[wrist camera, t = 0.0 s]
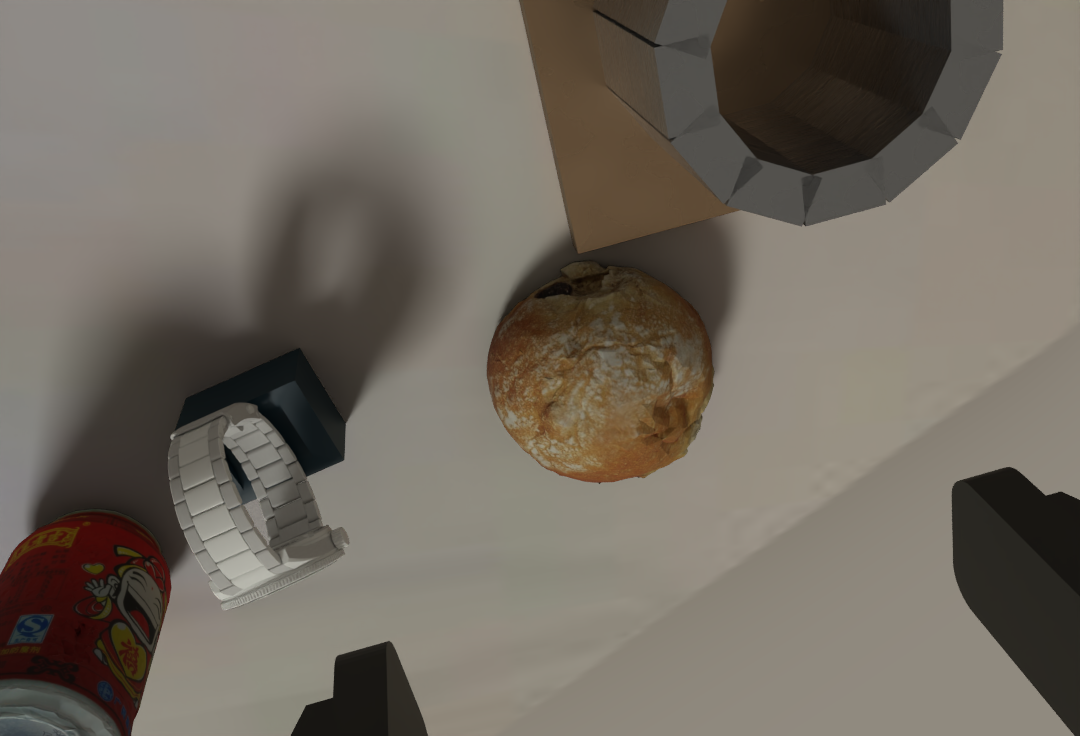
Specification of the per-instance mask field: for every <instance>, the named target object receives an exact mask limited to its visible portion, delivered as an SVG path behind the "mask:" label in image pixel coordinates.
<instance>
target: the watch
mask: <svg viewBox="0 0 1080 736" xmlns="http://www.w3.org/2000/svg"><path fill="white" fill-rule="evenodd" d="M345 428H346V424H345V422H344V421H343V419H342V417H341V416H340V414H339V412H338V411H337V409H336V407H335V406H334V404H333V402H332V401H331V399H330V397H329V396H328V394H327V392H326V391H325V389H324V388H323V386H322V384H321V383H320V381H319V379H318V378H317V376H316V374H315V373H314V371H313V369H312V368H311V366H310V364H309V363H308V361H307V359H306V358H305V356H304V354H303V353H302V351H301V350H300V348H298V349H296V350H294V351H291V352H289V353H287V354H285V355H282V356H280V357H278V358H276V359H273V360H271V361H269V362H267V363H264V364H262V365H260V366H258V367H255V368H253V369H251V370H249V371H246V372H244V373H242V374H240V375H238V376H235V377H233V378H231V379H229V380H226V381H224V382H222V383H220V384H217V385H215V386H213V387H211V388H208V389H206V390H204V391H202V392H199V393H197V394H195V395H193V396H191V397H188V398H186V400H185V403H184V406H183V409H182V411H181V414H180V417H179V420H178V423H177V426H176V429H175V432H173V433H172V434H171V436H170V438H171V440H172V442H171V446H170V448H169V453H168V459H169V460H168V473H169V479H170V480H171V481H170V488H171V493H172V498H173V502H174V504H175V510H176V514H177V517H178V520H179V523H180V526H181V528H182V529H183V530H184V529H186V528H188V527H191V526H193V525H195V526H193V527H191V528H188V529H186V530H184V534H185V537H186V539H187V541H188V544H189V546H190V548H191V550H192V552H193V553H196V554H195V556H196V558H197V560H198V562H199V563H200V565H201V566H202V568H203V569H204V571H205V572H206V573H207V574H208V575H209V577H210V579H211V581H209V582H208V583H209V585H210V588H211V590H212V592H213V593H214V594H215V596H216V597H218V598H219V599H220V600H222V603H221V607H222V609H223V610H229V609H233V608H236V607H239V606H242V605H245V604H248V603H251V602H254V601H256V600H259V599H261V598H263V597H266V596H269V595H270V594H273V593H275V592H277V591H279V590H282V589H284V588H286V587H288V586H290V585H292V584H295V583H297V582H299V581H301V580H303V579H305V578H307V577H309V576H311V575H313V574H315V573H317V572H319V571H320V570H322V569H324V568H326V567H327V566H329V565H331V564H332V563H334V562H335V561H337V560H338V559H340V558H341V557H342V556H343V555H344V554H345V552H344V550H343V548H344V547H347V546H349V538H348V536H347V533H346V531H345V530H344V529H343V528H342V527H340V528H337V529H335V530H331V528H330V527H329V525H326V526H323V524H322V521H321V515H320V512H319V509H318V506H317V503H316V501H313V500H315V496H314V494H313V491H312V489H311V487H310V484H309V482H308V481H305V480H307V476H309V475H312V474H314V473H316V472H318V471H321V470H323V469H325V468H327V467H330V466H332V465H334V464H337V463H339V462H341V461H343V460H344V454H345ZM302 481H304V482H302ZM300 482H302V483H300ZM298 483H300V484H298ZM266 497H268V498H266ZM264 498H266V499H264ZM299 498H300V499H299ZM255 499H258V500H261V499H263V500H261V501H260V502H259V503H260V507H261V510H262V513H263V517H264V519H265V520H267V521H266V528H267V533H268V538H269V540H270V541H269V545H268V546H267V542H266V540H265V539H264V537H263V536H262V535H261V533H260V532H259V531H258V529H257V528H256V527H254V522H253V521H252V519H251V517H250V515H249V514H248V512H247V510H246V508H245V507H244V506H243V504H246V503H248V502H250V501H253V500H255ZM297 499H298V500H297ZM294 500H296V501H294ZM292 501H294V502H292ZM311 501H312V502H311ZM290 502H291V503H290ZM222 503H223V504H222ZM288 503H289V504H288ZM306 503H307V504H306ZM220 504H222V505H220ZM285 504H287V505H285ZM218 505H220V506H218ZM283 505H284V506H283ZM216 506H218V507H216ZM281 506H282V507H281ZM213 507H215V508H213ZM279 507H280V508H279ZM211 508H213V509H211ZM276 508H278V509H276ZM209 509H211V510H209ZM206 510H209V511H206ZM204 511H206V512H204ZM202 512H204V513H202ZM200 513H202V514H200ZM197 514H200V515H197ZM195 515H197V516H195ZM272 518H273V519H272ZM270 519H271V520H270ZM236 526H237V527H236ZM234 527H235V528H234ZM229 529H230V530H229ZM227 530H228V531H227ZM225 531H226V532H225ZM220 533H221V534H220ZM218 534H219V535H218ZM216 535H217V536H216ZM211 537H212V538H211ZM209 538H210V539H209Z"/></svg>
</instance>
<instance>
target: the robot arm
mask: <svg viewBox="0 0 1080 736" xmlns="http://www.w3.org/2000/svg"><path fill="white" fill-rule="evenodd" d="M952 530H953V566H954V572H955V576H956V580H957V583H958V586H959V588H960V591H961V593H962V596H963V598H964V599H965V601H966V603H967V604H968V606H969V607H970V609H971V610H972V612H973V613H974V614H975V615H976V616H977V618H978V619H979V620H980V621H981V623H982V624H983V625H984V626H985V627H986V629H987V630H988V631H989V632H990V633H991V635H992V636H993V637H994V638H995V639H996V641H997V642H998V643H999V644H1000V646H1001V647H1002V648H1003V649H1004V650H1005V652H1006V653H1007V654H1008V655H1009V657H1010V658H1011V659H1012V660H1013V661H1014V663H1015V664H1016V665H1017V666H1018V667H1019V669H1020V670H1021V671H1022V672H1023V673H1024V675H1025V676H1026V677H1027V678H1028V680H1030V682H1031V683H1032V684H1033V686H1034V687H1035V688H1036V689H1037V690H1038V692H1039V693H1040V694H1041V695H1042V697H1043V698H1044V699H1045V700H1046V701H1047V703H1048V704H1049V705H1050V706H1051V707H1052V709H1053V710H1054V711H1055V712H1056V714H1057V715H1058V716H1059V717H1060V718H1061V720H1062V721H1063V722H1064V723H1065V724H1066V726H1067V727H1068V728H1069V729H1070V730H1071V732H1072V733H1073V734H1074V735H1075V736H1080V500H1079V499H1077V498H1074V497H1072V496H1070V495H1068V494H1065V493H1063V492H1058V493H1054V494H1051V495H1047V496H1045V495H1044V494H1043V493H1042V492H1041V491H1040V490H1039V489H1038V488H1037V487H1036V486H1034V485H1033V484H1032V483H1031V482H1030V481H1029V480H1028V479H1027V478H1026V477H1025V476H1023V475H1022V474H1021V473H1020V472H1019V471H1017V470H1016V469H1014V468H1011V467H1006V468H1002V469H999V470H995V471H992V472H988V473H985V474H981V475H978V476H974V477H970V478H967V479H963V480H960V481H957V482H956V483H955V484H954V486H953V489H952ZM291 736H428V734H427V731H426V727H425V723H424V720H423V717H422V715H421V712H420V710H419V707H418V705H417V702H416V700H415V697H414V695H413V692H412V690H411V687H410V685H409V682H408V680H407V677H406V675H405V672H404V670H403V667H402V665H401V662H400V660H399V657H398V655H397V652H396V650H395V648H394V646H393V644H392V643H391V642H390V641H387V642H384V643H380V644H377V645H373V646H370V647H366V648H363V649H359V650H356V651H352V652H349V653H345V654H342V655H338V656H337V657H336V660H335V667H334V690H333V698H331V699H327V700H324V701H320V702H317V703H313V704H310V705H306V707H305V709H304V711H303V713H302V715H301V717H300V718H299V720H298V722H297V724H296V726H295V728H294V730H293V732H292V734H291Z"/></svg>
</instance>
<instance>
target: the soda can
mask: <svg viewBox="0 0 1080 736" xmlns="http://www.w3.org/2000/svg"><path fill="white" fill-rule="evenodd" d="M170 592H171V580H170V572H169V569H168V566H167V564H166V561H165V559H164V557H163V556H162V551H161V548H160V545H159V544H158V542H157V540H156V538H155V537H154V536H153V534H152V533H151V532H150V531H149V530H148V529H147V528H146V527H145V526H143V525H142V524H140V523H139V522H137V521H136V520H134V519H132V518H131V517H129V516H126V515H123V514H121V513H118V512H115V511H109V510H100V509H90V510H81V511H74V512H71V513H69V514H66V515H63V516H61V517H59V518H58V519H56V520H55V521H53V522H52V523H50V524H48V525H45V526H43V527H40V528H38V529H37V530H36V531H35V532H33V533H32V534H31V535H29V536H28V537H27V538H26V539H24V540H23V541H22V542H21V543H19V545H18V546H17V547H16V548H15V550H14V551H13V552H12V553H11V555H10V557H9V559H8V561H7V563H6V565H5V567H4V569H3V571H2V572H1V574H0V736H131V732H132V726H133V721H134V719H135V717H136V715H137V713H138V710H139V708H140V704H141V700H142V696H143V692H144V689H145V685H146V681H147V678H148V674H149V671H150V667H151V664H152V660H153V656H154V653H155V649H156V646H157V642H158V639H159V635H160V631H161V628H162V624H163V621H164V617H165V613H166V610H167V606H168V603H169V598H170Z"/></svg>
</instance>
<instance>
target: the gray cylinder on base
mask: <svg viewBox="0 0 1080 736" xmlns="http://www.w3.org/2000/svg"><path fill="white" fill-rule="evenodd" d="M519 2H520V6H521V11H522V15H523V20H524V24H525V29H526V34H527V38H528V43H529V47H530V52H531V56H532V61H533V65H534V70H535V74H536V79H537V83H538V88H539V93H540V97H541V102H542V106H543V111H544V115H545V120H546V124H547V129H548V133H549V138H550V143H551V147H552V152H553V156H554V161H555V165H556V170H557V174H558V179H559V183H560V188H561V192H562V197H563V202H564V206H565V211H566V215H567V220H568V224H569V229H570V233H571V238H572V242H573V246H574V247H575V249H576V251H577V253H578V254H580V253H584V252H587V251H591V250H595V249H599V248H602V247H606V246H610V245H613V244H617V243H621V242H624V241H628V240H632V239H635V238H639V237H643V236H646V235H650V234H654V233H657V232H661V231H665V230H669V229H672V228H676V227H680V226H683V225H687V224H691V223H694V222H698V221H702V220H705V219H709V218H713V217H716V216H720V215H724V214H727V213H731V212H735V211H739V210H743V211H747V212H751V213H754V214H758V215H762V216H765V217H769V218H773V219H776V220H780V221H784V222H787V223H791V224H795V225H799V226H802V225H803V224H804V225H805V226H809V225H813V224H816V223H820V222H824V221H827V220H831V219H835V218H838V217H842V216H846V215H849V214H853V213H857V212H860V211H864V210H868V209H871V208H875V207H879V206H882V205H886V200H887V201H888V202H891V201H892V200H893V199H894V198H895V197H896V196H898V195H899V194H900V193H901V192H902V191H903V190H905V189H906V188H907V187H908V186H909V185H910V184H911V183H913V182H914V181H915V180H916V179H917V178H918V177H920V176H921V175H922V174H923V173H924V172H925V171H926V170H928V169H929V168H930V167H931V166H932V165H933V164H935V163H936V162H937V161H938V160H939V159H940V158H941V157H943V156H944V155H945V154H946V153H947V152H948V151H950V150H951V149H952V148H953V147H954V146H955V145H957V144H958V143H957V141H956V140H955V138H957V139H960V140H961V138H962V136H963V134H964V132H965V130H966V128H967V125H968V123H969V121H970V119H971V117H972V115H973V113H974V111H975V109H976V107H977V105H978V102H979V100H980V98H981V96H982V94H983V92H984V90H985V88H986V86H987V84H988V82H989V80H990V77H991V75H992V73H993V71H994V69H995V67H996V65H997V63H998V61H999V59H1000V57H1001V55H1002V54H1000V53H997V52H995V51H999V50H1003V0H519Z"/></svg>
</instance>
